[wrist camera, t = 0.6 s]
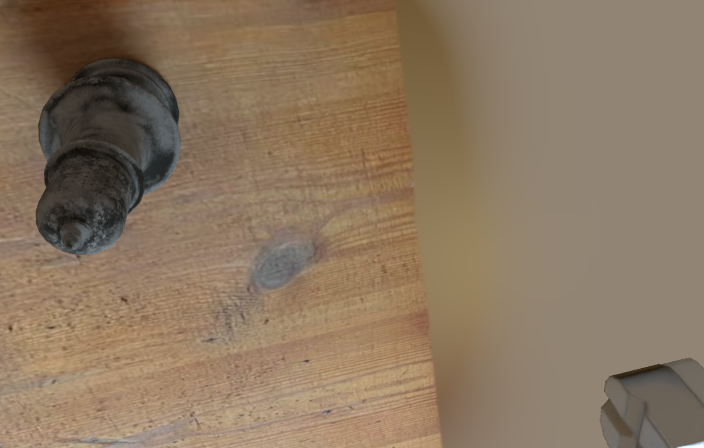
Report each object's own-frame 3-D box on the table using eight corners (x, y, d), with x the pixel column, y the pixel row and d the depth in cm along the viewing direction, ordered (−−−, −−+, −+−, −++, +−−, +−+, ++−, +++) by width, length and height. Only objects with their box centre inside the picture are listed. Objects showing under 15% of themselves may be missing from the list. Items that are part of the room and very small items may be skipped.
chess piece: (47, 49, 27) (-57, 167, 17) (181, 53, 28) (156, 166, 18) (68, 166, 30) (-10, 323, 20) (188, 165, 31) (170, 314, 21)
